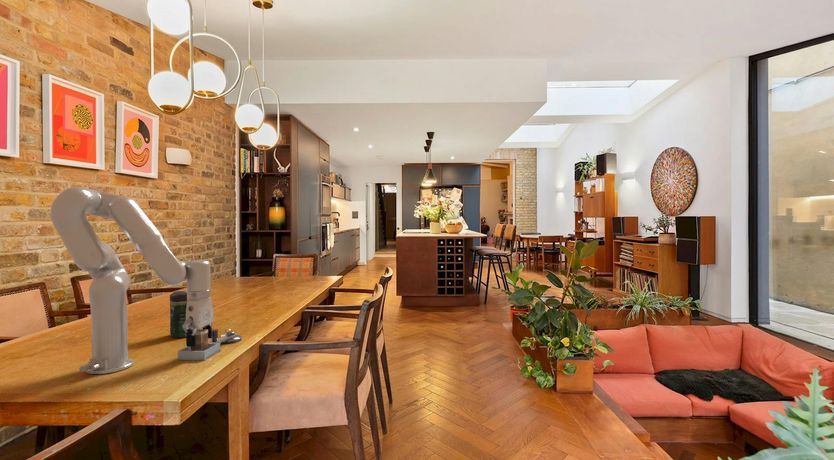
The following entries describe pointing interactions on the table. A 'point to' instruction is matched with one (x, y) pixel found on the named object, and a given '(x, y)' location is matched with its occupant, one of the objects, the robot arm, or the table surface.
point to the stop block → (201, 340)
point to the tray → (198, 352)
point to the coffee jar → (178, 313)
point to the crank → (221, 339)
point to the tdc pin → (227, 331)
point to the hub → (233, 339)
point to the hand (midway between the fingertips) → (199, 342)
